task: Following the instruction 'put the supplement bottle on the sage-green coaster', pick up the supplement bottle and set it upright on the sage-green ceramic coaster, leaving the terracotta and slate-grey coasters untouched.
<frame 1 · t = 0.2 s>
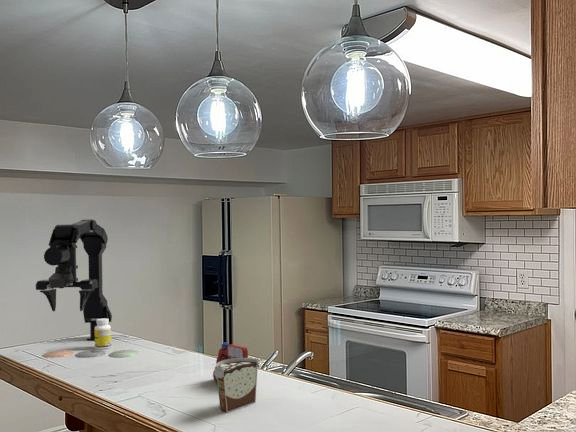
hand: (67, 311, 193), 14 cm above the counter, fingers open, 9 cm apart
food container: (232, 406, 137), on the counter
slate coaster: (91, 355, 193), on the counter
terracotta coaster: (58, 355, 194), on the counter
supplement bottle: (103, 348, 203), on the counter
sage coaster: (124, 355, 193), on the counter
toy fire truck: (232, 384, 156), on the counter
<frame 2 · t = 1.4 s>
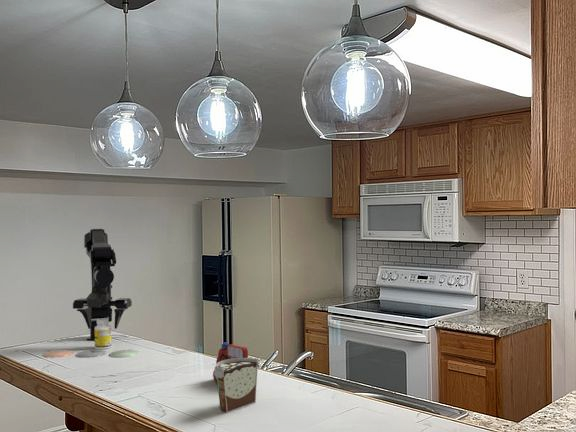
hand: (102, 328, 204), 7 cm above the counter, fingers open, 9 cm apart
nothing on the counter moved.
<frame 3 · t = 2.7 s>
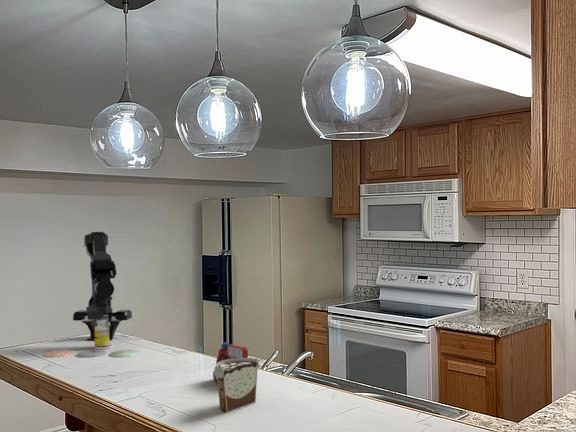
hand: (103, 340, 203), 3 cm above the counter, fingers closed on supplement bottle, 5 cm apart
supplement bottle: (103, 348, 203), on the counter, touching gripper
everything else where it was.
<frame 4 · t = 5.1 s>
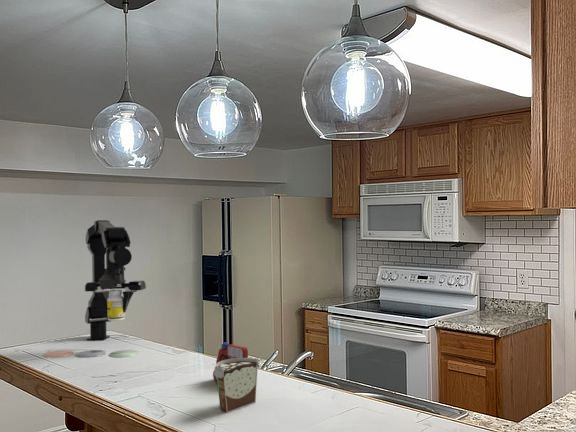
hand: (116, 312, 196), 13 cm above the counter, fingers closed on supplement bottle, 5 cm apart
supplement bottle: (116, 320, 196), point 10 cm above the counter, touching gripper
everything else where it was.
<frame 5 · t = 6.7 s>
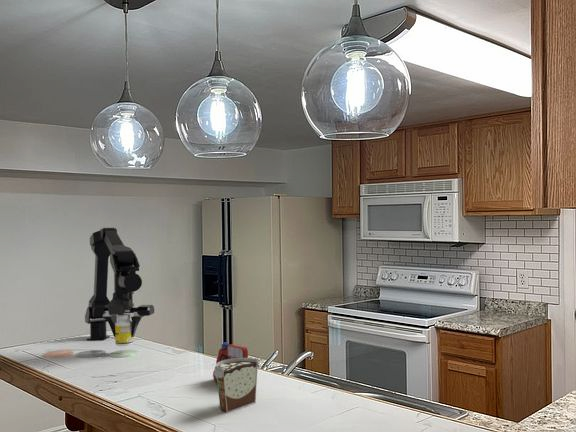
hand: (124, 336, 193), 6 cm above the counter, fingers closed on supplement bottle, 5 cm apart
supplement bottle: (124, 345, 193), point 3 cm above the counter, touching gripper
everything else where it was.
when the fingers open (5 cm above the counter, at t = 7.7 s): supplement bottle drops 2 cm, resting on sage coaster.
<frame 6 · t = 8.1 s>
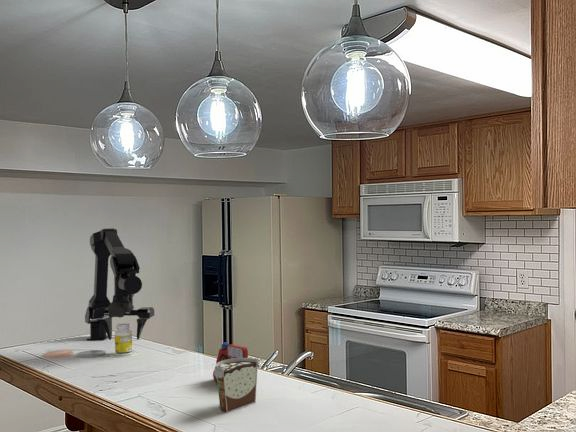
hand: (124, 339, 193), 5 cm above the counter, fingers open, 9 cm apart
supplement bottle: (123, 354, 193), resting on sage coaster
sage coaster: (124, 356, 193), on the counter, touching supplement bottle
everything else where it was.
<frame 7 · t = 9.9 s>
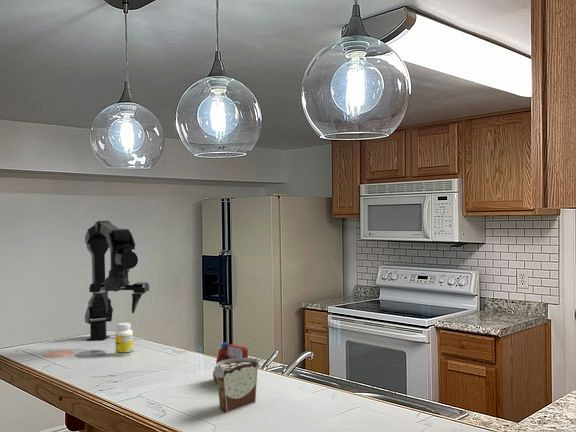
hand: (119, 313, 199), 12 cm above the counter, fingers open, 9 cm apart
nothing on the counter moved.
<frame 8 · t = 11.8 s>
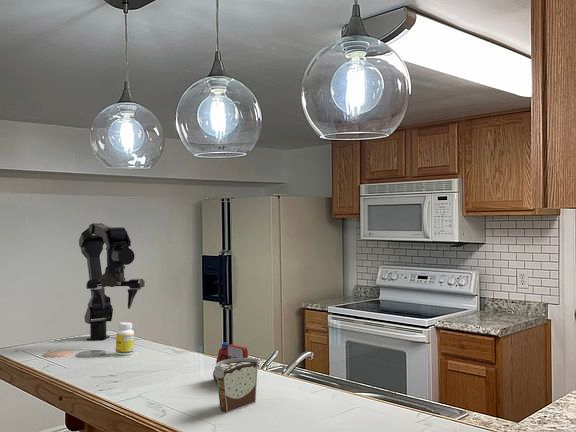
hand: (116, 308, 205), 13 cm above the counter, fingers open, 9 cm apart
nothing on the counter moved.
at the end: supplement bottle 0.2 cm off-centre on the sage coaster, point 0.8 cm above the sage coaster's base; terracotta coaster moved 0.4 cm from its start; slate coaster moved 0.4 cm from its start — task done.
